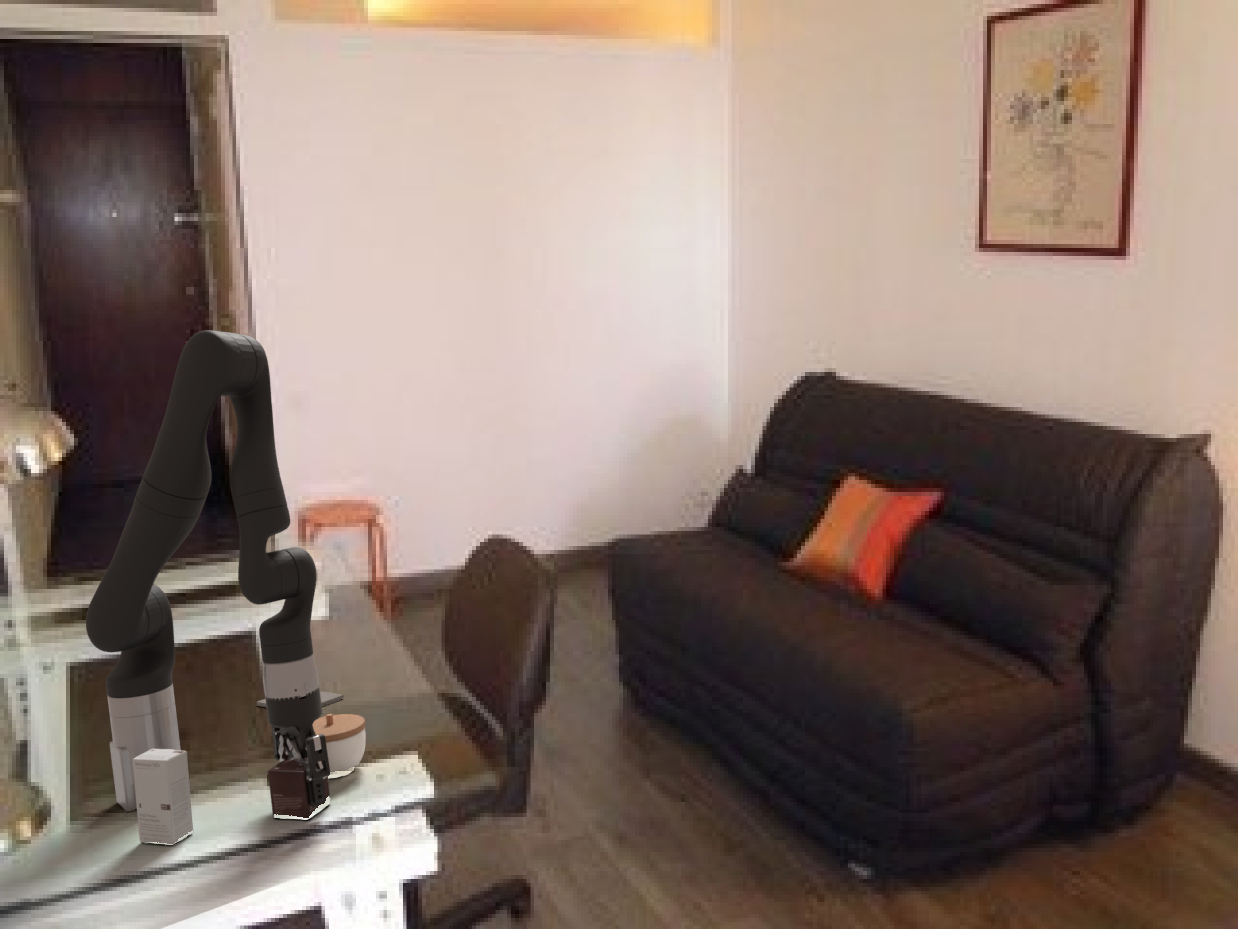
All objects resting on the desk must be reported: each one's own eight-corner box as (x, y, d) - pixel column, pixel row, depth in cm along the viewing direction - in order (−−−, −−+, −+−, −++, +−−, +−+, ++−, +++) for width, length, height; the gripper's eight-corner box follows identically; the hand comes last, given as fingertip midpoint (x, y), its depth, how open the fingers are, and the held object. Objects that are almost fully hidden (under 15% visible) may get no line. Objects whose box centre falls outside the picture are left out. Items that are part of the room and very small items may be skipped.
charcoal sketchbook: (302, 714, 201) (301, 710, 201) (257, 705, 210) (256, 701, 210) (343, 698, 209) (343, 694, 209) (299, 691, 218) (298, 687, 218)
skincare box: (138, 844, 147) (127, 759, 146) (161, 830, 151) (151, 747, 150) (175, 847, 145) (164, 760, 144) (197, 832, 149) (187, 749, 148)
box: (308, 822, 150) (303, 771, 149) (271, 820, 151) (266, 770, 151) (332, 804, 155) (326, 755, 155) (296, 803, 157) (291, 754, 157)
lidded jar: (379, 758, 173) (373, 702, 173) (355, 784, 163) (349, 724, 162) (316, 761, 175) (310, 705, 174) (289, 787, 164) (282, 727, 163)
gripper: (248, 687, 156) (261, 794, 157) (286, 703, 145) (300, 819, 146) (297, 674, 160) (310, 778, 162) (337, 689, 149) (351, 801, 151)
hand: (305, 797), depth 154 cm, fingers closed on box, 8 cm apart
